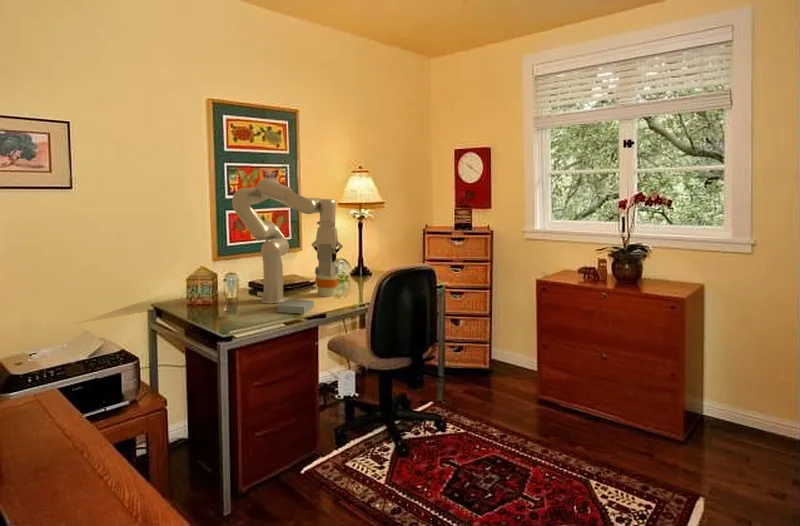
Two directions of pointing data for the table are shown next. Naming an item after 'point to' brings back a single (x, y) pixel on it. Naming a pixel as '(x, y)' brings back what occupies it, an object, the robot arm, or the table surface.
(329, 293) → the reusable coffee cup
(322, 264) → the skincare box
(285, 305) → the slate block
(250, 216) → the robot arm
